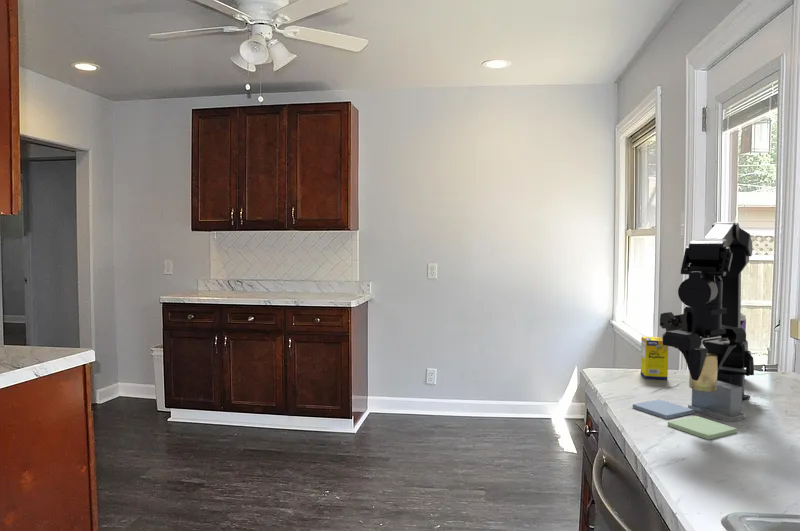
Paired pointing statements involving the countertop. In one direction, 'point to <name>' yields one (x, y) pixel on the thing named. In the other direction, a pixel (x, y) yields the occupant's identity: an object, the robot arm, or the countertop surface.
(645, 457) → the countertop surface
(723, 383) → the grey block with base
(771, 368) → the countertop surface
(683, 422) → the sage mat
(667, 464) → the countertop surface
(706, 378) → the gold metal cylinder
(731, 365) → the robot arm
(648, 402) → the slate mat
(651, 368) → the supplement box
